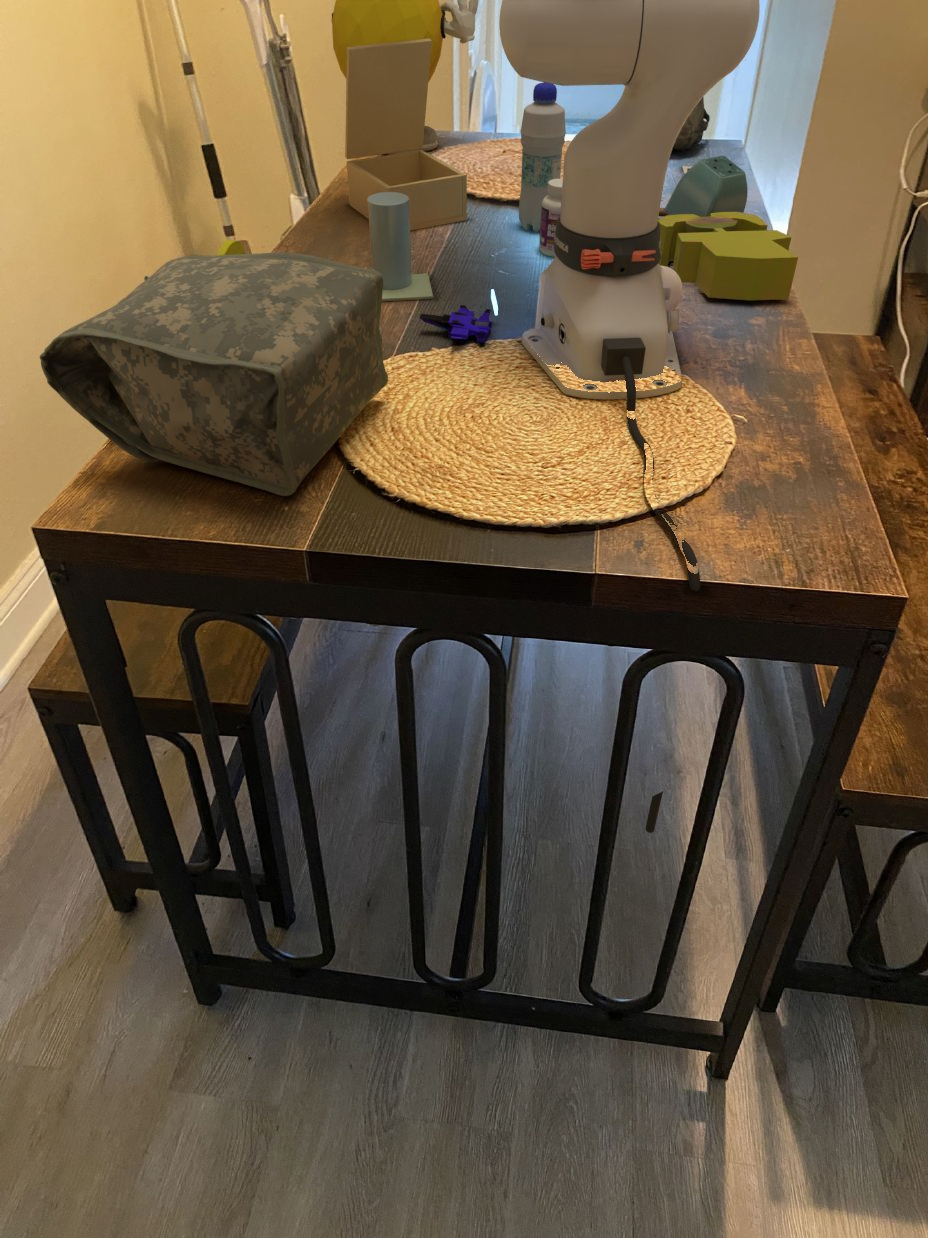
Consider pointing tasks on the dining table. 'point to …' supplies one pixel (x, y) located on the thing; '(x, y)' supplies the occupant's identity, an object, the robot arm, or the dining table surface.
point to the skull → (693, 128)
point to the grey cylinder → (390, 238)
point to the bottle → (540, 151)
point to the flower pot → (710, 189)
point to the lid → (386, 97)
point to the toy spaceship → (462, 324)
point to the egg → (672, 287)
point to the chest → (411, 186)
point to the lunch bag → (229, 364)
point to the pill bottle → (550, 216)
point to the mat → (410, 290)
